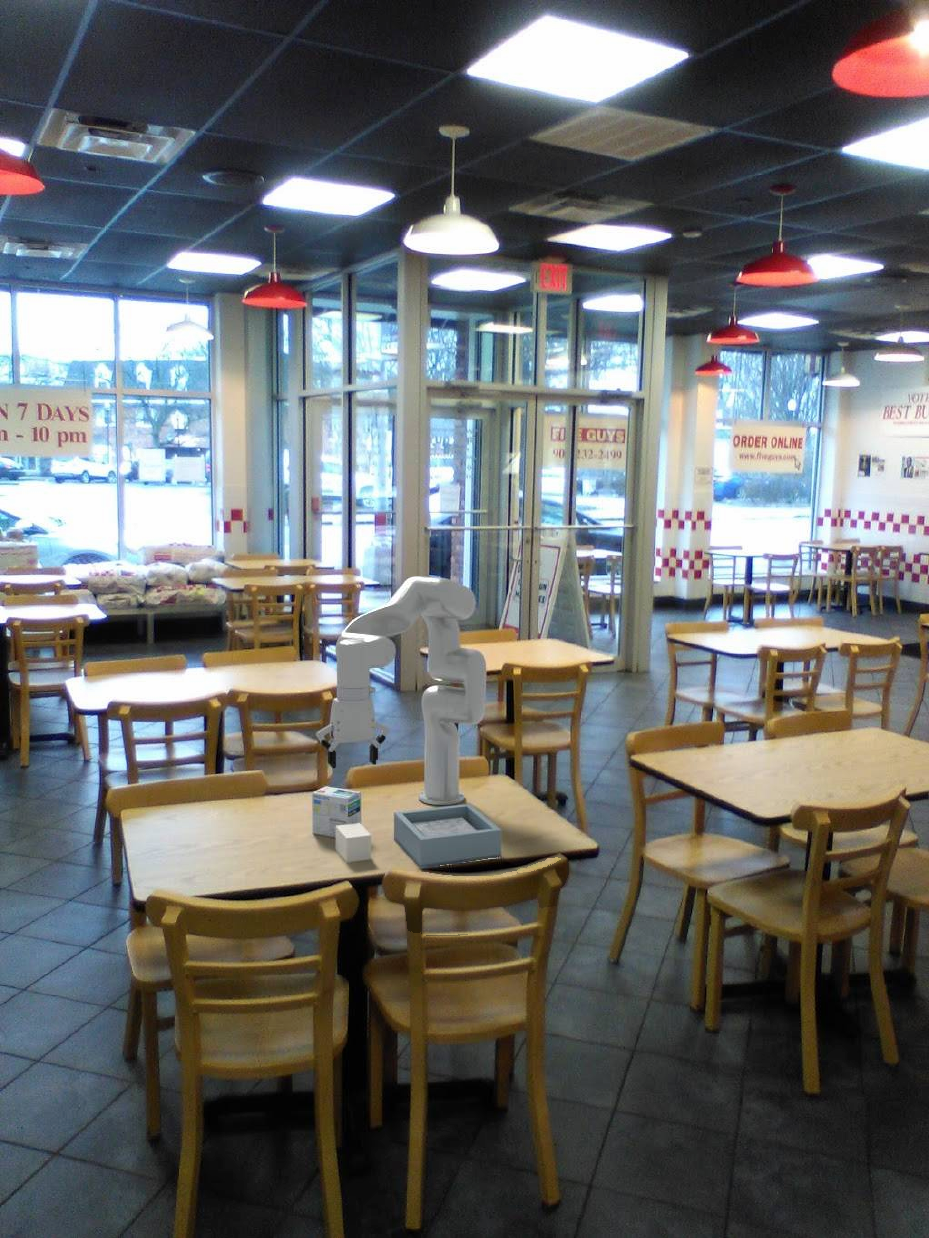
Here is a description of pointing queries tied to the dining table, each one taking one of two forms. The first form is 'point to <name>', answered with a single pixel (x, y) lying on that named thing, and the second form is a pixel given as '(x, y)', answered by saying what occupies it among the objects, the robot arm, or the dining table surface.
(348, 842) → the white rectangular block
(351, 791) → the light bulb box
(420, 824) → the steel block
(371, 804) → the dining table surface
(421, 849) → the tray
